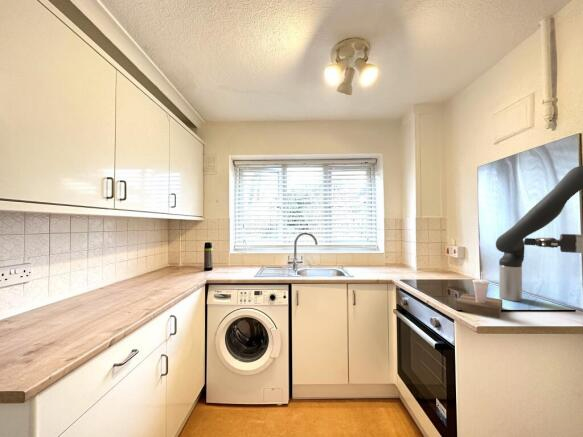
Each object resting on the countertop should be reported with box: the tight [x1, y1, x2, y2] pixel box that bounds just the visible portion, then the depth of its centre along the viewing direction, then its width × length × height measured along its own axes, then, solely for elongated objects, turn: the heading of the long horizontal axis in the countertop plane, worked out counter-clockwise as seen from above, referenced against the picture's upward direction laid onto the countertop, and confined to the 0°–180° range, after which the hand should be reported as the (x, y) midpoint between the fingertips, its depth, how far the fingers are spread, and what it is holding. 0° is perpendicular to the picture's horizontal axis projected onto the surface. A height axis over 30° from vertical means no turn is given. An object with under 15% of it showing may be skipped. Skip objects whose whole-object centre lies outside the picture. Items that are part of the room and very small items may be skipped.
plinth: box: [455, 293, 503, 319], centre depth 130 cm, size 16×16×4 cm
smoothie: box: [472, 271, 490, 303], centre depth 128 cm, size 6×6×14 cm
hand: (524, 241), depth 124 cm, fingers open, 8 cm apart
